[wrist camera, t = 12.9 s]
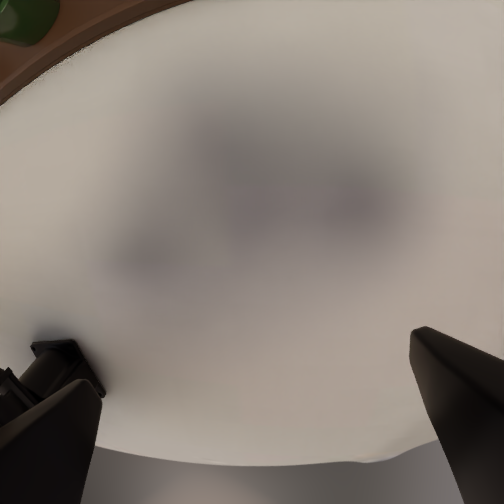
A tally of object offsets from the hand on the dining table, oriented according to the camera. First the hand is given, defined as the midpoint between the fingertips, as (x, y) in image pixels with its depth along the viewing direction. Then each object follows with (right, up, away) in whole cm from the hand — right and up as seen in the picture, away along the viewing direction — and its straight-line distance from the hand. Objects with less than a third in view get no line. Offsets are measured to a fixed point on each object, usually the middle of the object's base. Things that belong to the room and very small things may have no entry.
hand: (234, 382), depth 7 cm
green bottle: (-16, +21, +6) cm, 27 cm away
